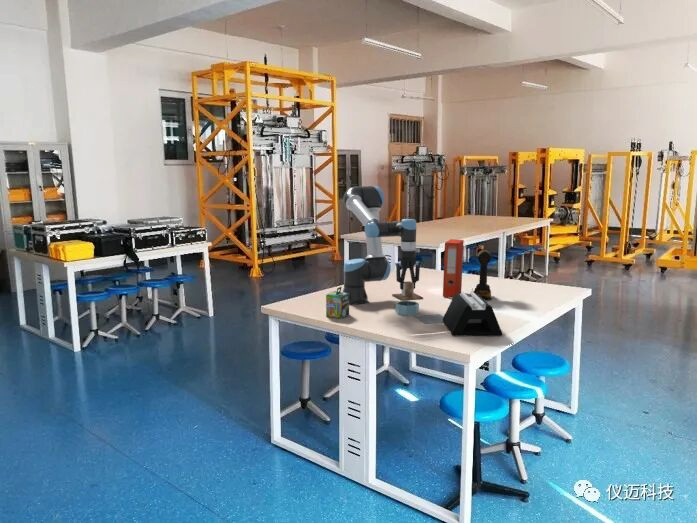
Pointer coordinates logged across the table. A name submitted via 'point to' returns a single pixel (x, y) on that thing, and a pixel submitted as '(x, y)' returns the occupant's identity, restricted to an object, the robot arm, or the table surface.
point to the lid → (408, 293)
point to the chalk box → (337, 304)
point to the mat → (430, 318)
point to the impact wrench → (483, 275)
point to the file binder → (453, 267)
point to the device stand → (471, 317)
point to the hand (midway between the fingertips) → (407, 295)
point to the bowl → (407, 308)
